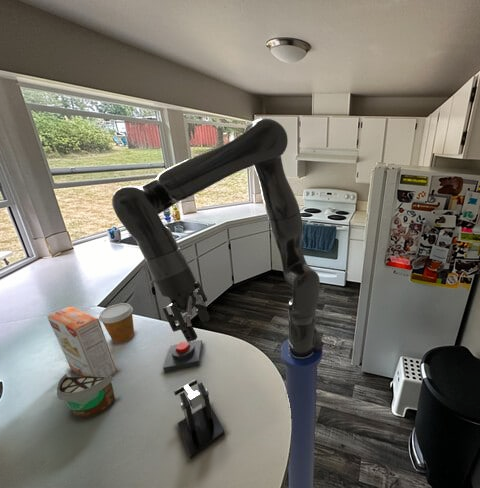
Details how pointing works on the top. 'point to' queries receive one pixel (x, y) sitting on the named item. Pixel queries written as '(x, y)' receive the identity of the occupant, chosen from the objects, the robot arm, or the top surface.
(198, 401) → the lever
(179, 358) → the button box
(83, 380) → the food container
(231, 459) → the top surface
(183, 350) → the button
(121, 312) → the orange tub white lid
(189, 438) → the bracket
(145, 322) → the top surface
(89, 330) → the cracker box
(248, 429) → the top surface
